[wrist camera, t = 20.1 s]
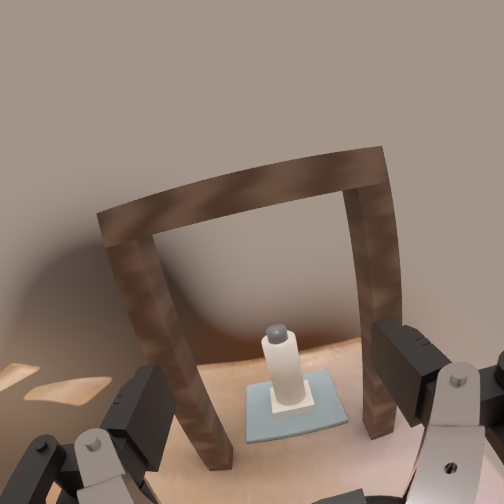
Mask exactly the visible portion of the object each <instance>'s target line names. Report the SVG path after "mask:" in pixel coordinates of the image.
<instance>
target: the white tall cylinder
mask: <svg viewBox="0 0 504 504" xmlns="http://www.w3.org/2000/svg"><path fill="white" fill-rule="evenodd" d="M266 333H267V335H266V336H265V337H264V338H263V339H262V346H263V350H264V354H265V358H266V362H267V366H268V369H269V373H270V377H271V381H272V384H273V387H271V388H270V394H271V404H272V414H273V417H274V420H276V419H282V418H287V417H292V416H296V415H301V414H305V413H310V412H314V411H315V404H314V401H313V397H312V394H311V390H310V387H309V383H308V380H304V381H303V376H302V370H301V365H300V359H299V354H298V349H297V344H296V339H295V334H294V333H293V332H291V331H287V329H286V326H285V325H283V324H276V325H272V326H270V327H268V328H267V330H266Z"/></svg>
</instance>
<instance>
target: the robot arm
mask: <svg viewBox="0 0 504 504" xmlns="http://www.w3.org/2000/svg"><path fill="white" fill-rule="evenodd" d="M371 358H372V363H373V367H374V369H375V371H376V373H377V374H378V376H379V377H380V379H381V381H382V382H383V384H384V385H385V387H386V388H387V390H388V391H389V393H390V395H391V396H392V398H393V399H394V401H395V403H396V404H397V406H398V407H399V409H400V411H401V412H402V414H403V415H404V417H405V419H406V420H407V422H408V423H409V425H410V427H411V428H412V427H414V426H416V425H418V424H421V423H422V424H423V426H424V427H425V429H424V432H423V436H422V440H421V443H420V447H419V450H418V454H417V457H416V460H415V463H414V466H413V469H412V472H411V475H410V478H409V480H408V483H407V485H406V488H405V490H404V492H403V495H402V497H401V498H400V497H394V496H382V495H379V496H364V493H363V490H362V488H361V489H358V490H355V491H351V492H348V493H345V494H341V495H337V496H333V497H329V498H325V499H321V500H319V501H317V502H314V503H312V504H474V503H475V498H476V494H477V489H478V484H479V479H480V473H481V466H482V459H483V450H484V440H485V437H486V438H487V440H488V441H489V443H490V444H491V446H492V447H493V449H494V450H495V452H496V453H497V455H498V457H499V458H500V460H501V461H502V463H503V465H504V351H503V352H502V353H501V354H500V356H499V359H498V362H497V365H495V366H492V367H488V368H484V369H480V370H477V369H476V368H475V367H474V366H473V365H471V364H468V363H465V362H454V363H452V362H451V361H450V360H449V359H448V358H447V357H446V356H445V355H444V354H443V353H442V352H441V351H440V350H439V349H438V348H436V347H435V346H434V345H433V344H431V342H430V341H429V340H428V339H427V338H425V337H424V335H423V334H421V333H420V332H419V331H418V330H417V329H415V328H412V327H410V326H407V325H404V326H401V325H400V324H398V323H397V322H396V321H395V320H394V319H393V318H392V317H388V318H384V319H381V320H378V321H375V322H372V324H371ZM175 410H176V400H175V396H174V394H173V392H172V389H171V387H170V385H169V383H168V381H167V379H166V377H165V375H164V372H163V370H162V368H161V367H160V366H159V365H149V366H140V367H139V368H138V370H137V372H136V374H135V375H134V377H133V379H130V380H129V381H128V382H127V383H126V384H124V385H123V386H122V387H121V389H120V391H119V393H118V394H117V398H115V400H114V402H113V405H111V407H110V409H109V411H108V413H107V414H106V416H105V418H104V420H103V422H102V423H101V425H100V427H99V429H98V428H97V429H91V430H88V431H86V432H84V433H82V434H81V435H80V436H79V437H78V438H77V440H76V442H75V444H67V445H60V444H59V442H58V441H57V440H56V439H55V438H54V437H53V436H52V435H41V436H39V437H37V438H36V439H34V440H33V441H32V442H31V444H30V445H29V447H28V448H27V450H26V452H25V453H24V455H23V457H22V458H21V460H20V462H19V464H18V465H17V467H16V469H15V471H14V472H13V474H12V476H11V478H10V480H9V481H8V483H7V485H6V487H5V489H4V490H3V492H2V494H1V496H0V504H46V497H47V495H48V492H49V490H50V488H51V486H52V483H53V481H54V482H55V483H56V484H57V485H58V486H60V487H61V488H62V490H61V492H60V495H59V497H58V499H57V502H56V504H161V502H160V501H159V499H158V498H157V496H156V494H155V493H154V491H153V489H152V488H151V486H150V484H149V483H148V481H147V480H146V478H145V477H144V475H145V472H146V471H152V472H158V470H159V466H160V463H161V459H162V455H163V452H164V448H165V445H166V441H167V437H168V434H169V430H170V427H171V423H172V420H173V416H174V413H175Z"/></svg>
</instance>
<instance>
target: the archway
mask: <svg viewBox="0 0 504 504" xmlns="http://www.w3.org/2000/svg"><path fill="white" fill-rule="evenodd" d="M337 191H342V192H343V197H344V202H345V207H346V213H347V219H348V225H349V231H350V237H351V244H352V251H353V258H354V265H355V272H356V281H357V291H358V301H359V312H360V325H361V341H362V363H363V422H364V424H365V426H366V428H367V431H368V433H369V435H370V437H371V440H373V439H376V438H379V437H381V436H384V435H387V434H389V433H392V432H393V428H394V422H395V415H396V408H397V404H396V403H395V401H394V399H393V398H392V396H391V395H390V393H389V391H388V390H387V388H386V387H385V385H384V384H383V382H382V381H381V379H380V377H379V376H378V374H377V373H376V371H375V369H374V367H373V363H372V358H371V324H372V322H375V321H378V320H381V319H384V318H388V317H392V318H393V319H394V320H395V321H396V322H397V323H398V324H400V325H401V326H402V294H401V293H402V292H401V274H400V273H401V272H400V259H399V248H398V238H397V229H396V220H395V214H394V206H393V200H392V193H391V188H390V182H389V177H388V172H387V167H386V162H385V158H384V153H383V148H382V146H378V147H370V148H363V149H355V150H348V151H341V152H335V153H329V154H323V155H317V156H311V157H305V158H300V159H295V160H289V161H284V162H279V163H274V164H270V165H265V166H260V167H256V168H251V169H247V170H243V171H238V172H234V173H230V174H226V175H222V176H218V177H214V178H210V179H206V180H202V181H199V182H195V183H192V184H188V185H184V186H180V187H177V188H173V189H170V190H167V191H163V192H160V193H157V194H153V195H150V196H147V197H144V198H141V199H138V200H134V201H131V202H128V203H126V204H122V205H119V206H116V207H114V208H111V209H108V210H105V211H102V212H99V213H97V218H98V222H99V225H100V230H101V233H102V237H103V241H104V244H105V248H106V251H107V254H108V258H109V261H110V264H111V268H112V270H113V273H114V277H115V280H116V283H117V286H118V289H119V292H120V294H121V297H122V300H123V303H124V305H125V308H126V311H127V313H128V316H129V318H130V321H131V324H132V326H133V329H134V331H135V333H136V336H137V338H138V340H139V343H140V345H141V348H142V350H143V352H144V354H145V356H146V359H147V361H148V363H149V365H159V366H160V367H161V368H162V370H163V372H164V375H165V377H166V379H167V381H168V383H169V385H170V387H171V389H172V392H173V394H174V396H175V400H176V410H175V413H174V414H175V416H176V418H177V420H178V421H179V423H180V425H181V426H182V428H183V430H184V432H185V433H186V435H187V437H188V438H189V440H190V442H191V443H192V445H193V446H194V448H195V449H196V451H197V453H198V454H199V456H200V457H201V459H202V460H203V462H204V463H205V465H206V466H207V468H208V469H209V471H214V470H231V469H232V457H233V447H232V445H231V443H230V441H229V439H228V437H227V435H226V433H225V431H224V429H223V426H222V424H221V422H220V420H219V418H218V416H217V414H216V411H215V409H214V407H213V405H212V403H211V400H210V398H209V396H208V393H207V391H206V389H205V386H204V384H203V382H202V379H201V377H200V374H199V372H198V370H197V367H196V365H195V362H194V360H193V357H192V354H191V352H190V349H189V347H188V344H187V342H186V339H185V336H184V334H183V331H182V328H181V326H180V323H179V319H178V317H177V314H176V311H175V308H174V305H173V302H172V299H171V296H170V293H169V290H168V287H167V284H166V280H165V277H164V274H163V271H162V268H161V264H160V261H159V258H158V254H157V251H156V247H155V243H154V240H153V236H152V235H153V234H156V233H160V232H164V231H168V230H171V229H175V228H179V227H183V226H187V225H191V224H194V223H198V222H202V221H206V220H210V219H214V218H218V217H222V216H227V215H231V214H235V213H239V212H244V211H248V210H252V209H256V208H261V207H266V206H270V205H275V204H279V203H283V202H288V201H293V200H297V199H302V198H307V197H312V196H317V195H322V194H327V193H332V192H337Z"/></svg>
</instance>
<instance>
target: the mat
mask: <svg viewBox="0 0 504 504" xmlns="http://www.w3.org/2000/svg"><path fill="white" fill-rule="evenodd" d="M302 376H303V381H304V380H308V383H309V387H310V390H311V394H312V397H313V401H314V404H315V411H314V412H310V413H305V414H301V415H296V416H292V417H287V418H282V419H276V420H274V417H273V414H272V404H271V394H270V388H271V387H273V384H272V381H269V382H264V383H259V384H253V385H247V400H246V442H247V444H248V443H256V442H263V441H269V440H275V439H281V438H286V437H291V436H296V435H301V434H305V433H309V432H314V431H318V430H322V429H326V428H329V427H333V426H337V425H340V424H344V423H347V422H348V419H347V416H346V414H345V411H344V409H343V406H342V404H341V401H340V399H339V396H338V394H337V391H336V389H335V386H334V384H333V381H332V379H331V377H330V374H329V372H328V369H327V368H325V369H321V370H318V371H314V372H310V373H306V374H302Z"/></svg>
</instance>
